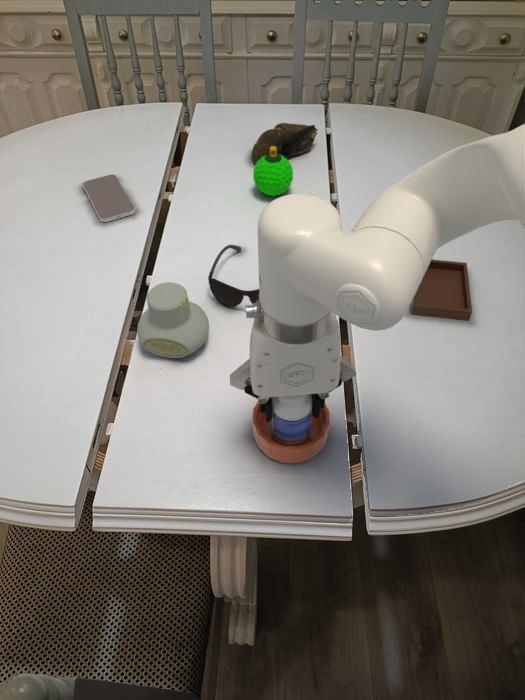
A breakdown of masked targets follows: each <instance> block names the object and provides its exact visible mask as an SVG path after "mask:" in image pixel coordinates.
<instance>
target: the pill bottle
mask: <svg viewBox="0 0 525 700" xmlns="http://www.w3.org/2000/svg"><path fill="white" fill-rule="evenodd" d="M271 402H272V421H271V431H272V435H273V437H274V438H275V440H276V441H277V442H279V443H280V444H282V445H285V446H297V445H300V444H302V443H304V442H305V441H306V440H307V439H308V437H309V435H310V431H311V420H312V408H313V399H312V395H311V394H307V395H295V396H281V397H271Z"/></svg>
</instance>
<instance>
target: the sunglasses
mask: <svg viewBox="0 0 525 700" xmlns="http://www.w3.org/2000/svg"><path fill="white" fill-rule="evenodd" d="M229 249H232V250H234V251H236V252H238V253H240V252H241V251H242V247H241V246H239V245H236V244H228V245H226V246H224V247H223V248H222V249H221V251H220V252H219V253H218V255H217V256H216V257H215V260H214V262H213V264H212V266H211V269H210V271H209V274H208V278H207V279H208V280H207V281H208V284H209V290H210V291H211V294H212V296H213V297H214V298H215V299H216V300H217V302H218V303H220V304H221V305H223V306H225V307H228V308H236V307H238V306H239V305H240V304H242V302H243V300H244V297H248V299H249V302H250V303H251V305H253V304H254V303H256V301H259V288H257V289H252V290H243V289H240V288H237V287H235V286H232V285H230V284H227V283H226V282H223V281H221V280H218V279H216V278H213V275H214V272H215V269H216V268H217V265H218V262H219V261H220V259H221V257H222V255H223V254H224V253H225V252H226V251H227V250H229Z"/></svg>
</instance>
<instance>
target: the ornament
mask: <svg viewBox="0 0 525 700" xmlns="http://www.w3.org/2000/svg"><path fill="white" fill-rule="evenodd" d="M272 151H275V152H272ZM293 170H294V168H293V167H292V164H291V163H290V161H289V159H288V158H284V156H282V155H279V154H277V147H276V146H271V147H270V153H269V154H267V155H265V156H263V157H261V159H260V160H258V162H257V164H255V165H254V168H253V171H252V173H253V174H252V177H253V182H254V185H255V186H256V188H257V189H258V190H259V191H260V193H263V194H264V195H266V196H270V197H271V196H273V197H275V196H276V197H277V196H280V195H282V194H285V192H286V191H288V189H289V188H290V187H291V185H292V182H293V180H294V171H293Z"/></svg>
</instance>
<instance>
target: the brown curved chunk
mask: <svg viewBox="0 0 525 700" xmlns="http://www.w3.org/2000/svg"><path fill="white" fill-rule="evenodd" d="M318 131H319V130H318V128H316V124H312V125H311V124H310V125H307V124H301V123H287V122H281V123H278V124H276V125H275V126H274V128H270V129H267V130H266V131H263V132H262V133H261V134H260V136H259V137H258V139H257V140H256V142H255V143H254V144H253V148H252V150H251V161H252V163H253V164H255V165H256V164H257V162H258V160H260V159H261V157H263V156H265V155H267V154H269V153H270V147H271V146H276V147H277V154H279V155H282V156H284V158H286V159H288V158H290V157H294V156H297V155H299V154H302V153H305V152H307V151H308V150H310V148H311V147H312V146H313V144H314V142H315V139H316V137H317V135H318V134H319V133H318ZM272 152H275V151H272Z"/></svg>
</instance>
